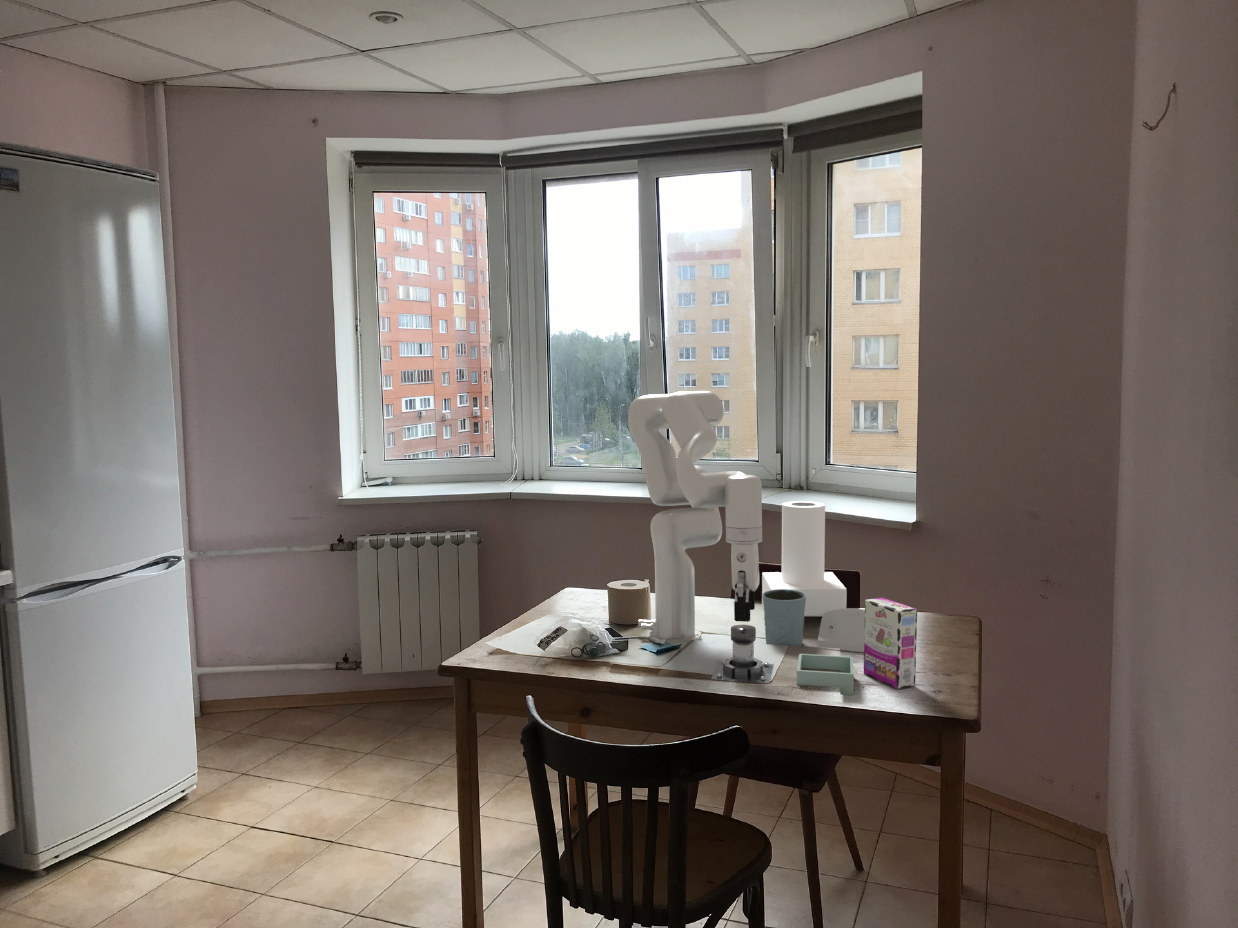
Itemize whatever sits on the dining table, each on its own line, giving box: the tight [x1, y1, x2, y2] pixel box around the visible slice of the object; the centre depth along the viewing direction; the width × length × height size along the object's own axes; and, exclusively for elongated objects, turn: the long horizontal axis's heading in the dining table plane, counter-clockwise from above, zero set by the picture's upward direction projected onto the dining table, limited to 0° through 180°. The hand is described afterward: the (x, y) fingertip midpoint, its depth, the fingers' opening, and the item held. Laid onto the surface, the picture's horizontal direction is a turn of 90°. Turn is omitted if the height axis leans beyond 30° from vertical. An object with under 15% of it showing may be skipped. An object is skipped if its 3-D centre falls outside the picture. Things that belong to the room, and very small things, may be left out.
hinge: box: [817, 607, 865, 653], centre depth 216 cm, size 17×5×10 cm, turn 70°
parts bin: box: [796, 653, 855, 696], centre depth 192 cm, size 11×11×4 cm
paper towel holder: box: [761, 500, 848, 617], centre depth 239 cm, size 19×19×30 cm
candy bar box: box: [863, 597, 918, 690], centre depth 193 cm, size 11×5×16 cm, turn 24°
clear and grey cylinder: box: [730, 624, 757, 668], centre depth 195 cm, size 5×5×9 cm
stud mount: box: [711, 657, 775, 684], centre depth 196 cm, size 12×12×3 cm
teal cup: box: [763, 589, 806, 647], centre depth 219 cm, size 10×10×12 cm
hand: (744, 614), depth 194 cm, fingers open, 9 cm apart
